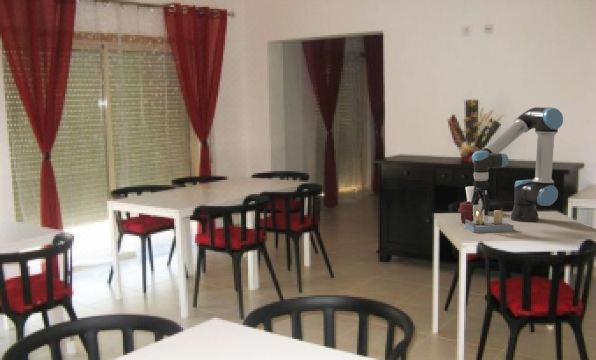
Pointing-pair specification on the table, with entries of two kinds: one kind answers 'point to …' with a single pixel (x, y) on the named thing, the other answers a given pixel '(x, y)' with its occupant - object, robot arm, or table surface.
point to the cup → (470, 194)
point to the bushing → (479, 218)
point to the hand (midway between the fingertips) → (480, 219)
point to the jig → (490, 224)
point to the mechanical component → (466, 211)
